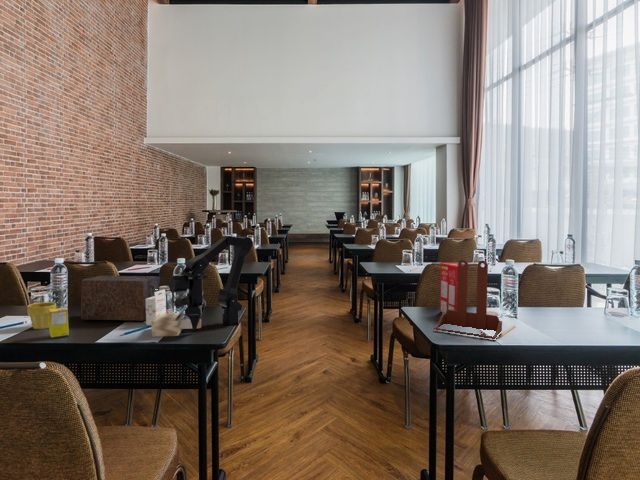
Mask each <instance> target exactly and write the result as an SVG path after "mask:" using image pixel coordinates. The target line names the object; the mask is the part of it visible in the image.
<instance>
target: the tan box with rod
mask: <svg viewBox="0 0 640 480" xmlns="http://www.w3.org/2000/svg"><path fill="white" fill-rule="evenodd" d="M184 315H185V312H184V310H181V311H180V312H173V313H171V312H170V313H169V312H168V313H167V312H166V314H158V315H157V317H156V318H155V319H154V320H153V321H152V325H151V337H154V338H155V337H177V336H179V335H180V334H181V332H182V331H183V329H181V320H183V319H185V318H184Z"/></svg>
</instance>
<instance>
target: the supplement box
mask: <svg viewBox="0 0 640 480" xmlns="http://www.w3.org/2000/svg"><path fill="white" fill-rule="evenodd" d="M68 313H69V311H68V308H66V306H64V307H63V306H62V307H56V308H54V309H49V328H48V332H49V338H50V340H55V339H60V338H69V335H70V334H69V314H68Z"/></svg>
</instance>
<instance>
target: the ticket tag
mask: <svg viewBox="0 0 640 480" xmlns="http://www.w3.org/2000/svg"><path fill="white" fill-rule="evenodd" d="M201 328H202V318H201V319H200V320H199V322H198V325H197V328H196V329H201ZM181 329H182V330H184V329H187V330H188V329H189V330H190V329H191V330H193V328H192V324H191V320H190V318H187V319H185V318H184V319H183V320H181Z"/></svg>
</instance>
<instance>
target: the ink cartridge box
mask: <svg viewBox="0 0 640 480" xmlns="http://www.w3.org/2000/svg"><path fill="white" fill-rule="evenodd" d="M154 294H155V296H153V297H150V298H147V299H146V320H145V322H146V324H145V325H146V326H152V321H153V320H154V319H155V318H156V317H157V315H158V314H166V313H167V300H166V299H167V298H166V297H167V295H166V290H165V288H164V289H161V290H160V289H159V291H157V292H155V293H154ZM158 294H159V295H158Z"/></svg>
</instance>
